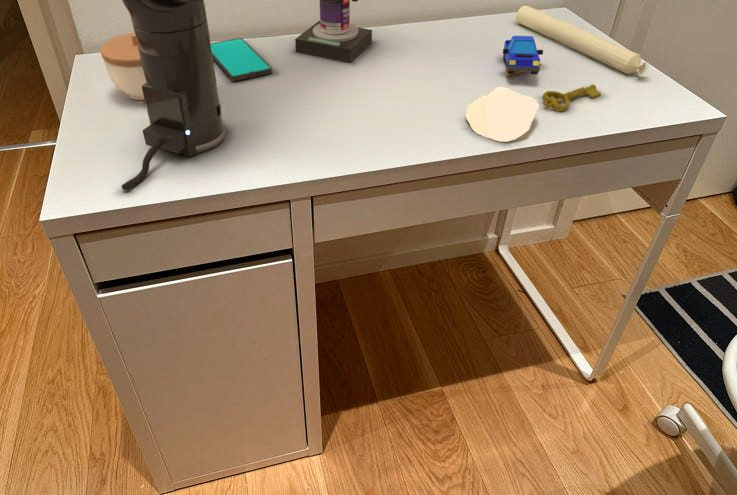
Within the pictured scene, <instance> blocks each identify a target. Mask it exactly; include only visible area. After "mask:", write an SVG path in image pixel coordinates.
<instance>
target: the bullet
mask: <svg viewBox="0 0 737 495" xmlns="http://www.w3.org/2000/svg"><path fill="white" fill-rule="evenodd" d="M540 66H542V63H540V64H539V67H540ZM524 72H526V71H514V74H507V69H505V71H504V75H505V76H506V77H510V76H513V75H517V74H521V73H524Z"/></svg>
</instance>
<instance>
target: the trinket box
mask: <svg viewBox="0 0 737 495" xmlns="http://www.w3.org/2000/svg"><path fill="white" fill-rule="evenodd" d="M100 55H101V58H102V59H103V62H104V66H105V69H106V72H107V74H108V76H109V77H110V80H111V81H112V83H113V84H114V85H115V87H116V88H117V89H119V90H120V91H121V92H122V93H124V94H126V95H127V96H128V97H129V98H131V99H132V100H136V101H145V100H144V95H143V91H142V85H144V84H145V83H146V80H145V76H144V72H143V67H142V63H141V59H140V55H139V50H138V46H137V41H136V37H135V33H134V32H131V33H126V34H122V35H121V34H120V35H118V36H115V37H112V38H110V39H109V40H106V41H105V42H104V43H103V44H102V45H101V47H100Z"/></svg>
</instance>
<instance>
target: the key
mask: <svg viewBox="0 0 737 495" xmlns="http://www.w3.org/2000/svg"><path fill="white" fill-rule="evenodd" d="M601 94H602V93H601V92H600V91H598V90H597V86H596V85H595V83H594V84H593V83H592V84H590V85H589V86H587V87H583V86H582V87H579V88H576V89H574V90H572V91H568V92H565V93H563V92H560V91H555V90H547V91H545V92H544V93H543V94H542V98H541V99H542V101H544V102H543V105H544V106H545V107H547V108H552V109H554V111H558V112H565V111H566V110H567V109H568V107H569V105H570V101H571V100H574V99H577V98H579V97H582V96H585V95H588V96H589V97H590V98H592V99H594V98H595V99H596V98H597V97H600V96H601ZM561 102H563V103H564V104H561Z"/></svg>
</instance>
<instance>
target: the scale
mask: <svg viewBox="0 0 737 495" xmlns="http://www.w3.org/2000/svg"><path fill="white" fill-rule="evenodd" d="M372 43H373V30H372V29H370V28H364V27H358V26H356V25H354V24H352V23H350V27H349V31H348V32H346V33H344V34H338V35H332V34H326V33H324V32H323V31H322V30H321V28H320V19H319V20H318V21H316V22H315V23H314V24H313V25H311V26H310V27H309V28H307V29H306V30H305V31H304V32H302V33H301V34H300V35H298V36H297V37H295V39H294V44H295V53H298V54H304V55H308V56H313V57H319V58H324V59H328V60H333V61H339V62H343V63H348V64H351V63H353V61H354V60H355V59H356V58H358V57H359V55H361V54H362V53H363V52H364V51H365V50H366V49H367V48H368V47H370V45H371V44H372Z"/></svg>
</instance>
